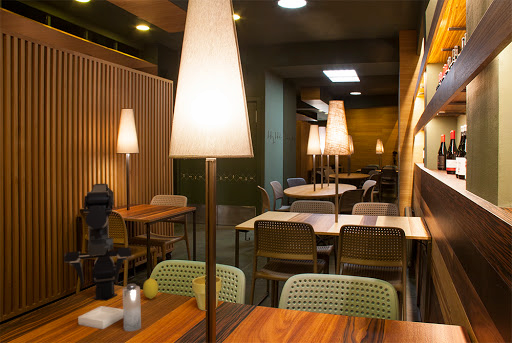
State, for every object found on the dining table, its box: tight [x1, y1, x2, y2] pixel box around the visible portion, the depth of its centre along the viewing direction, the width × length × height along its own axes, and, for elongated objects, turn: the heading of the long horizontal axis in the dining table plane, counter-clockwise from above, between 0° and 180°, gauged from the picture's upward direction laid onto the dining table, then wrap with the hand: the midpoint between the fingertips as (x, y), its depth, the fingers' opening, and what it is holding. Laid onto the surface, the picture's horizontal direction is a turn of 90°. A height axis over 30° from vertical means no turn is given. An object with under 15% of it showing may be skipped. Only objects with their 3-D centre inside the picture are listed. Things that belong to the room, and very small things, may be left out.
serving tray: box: [77, 305, 123, 330], centre depth 132 cm, size 10×10×2 cm
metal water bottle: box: [122, 283, 142, 332], centre depth 126 cm, size 5×5×14 cm
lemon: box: [142, 277, 159, 300], centre depth 151 cm, size 6×6×8 cm
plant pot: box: [191, 275, 223, 311], centre depth 142 cm, size 10×10×10 cm
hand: (99, 284), depth 121 cm, fingers open, 9 cm apart
